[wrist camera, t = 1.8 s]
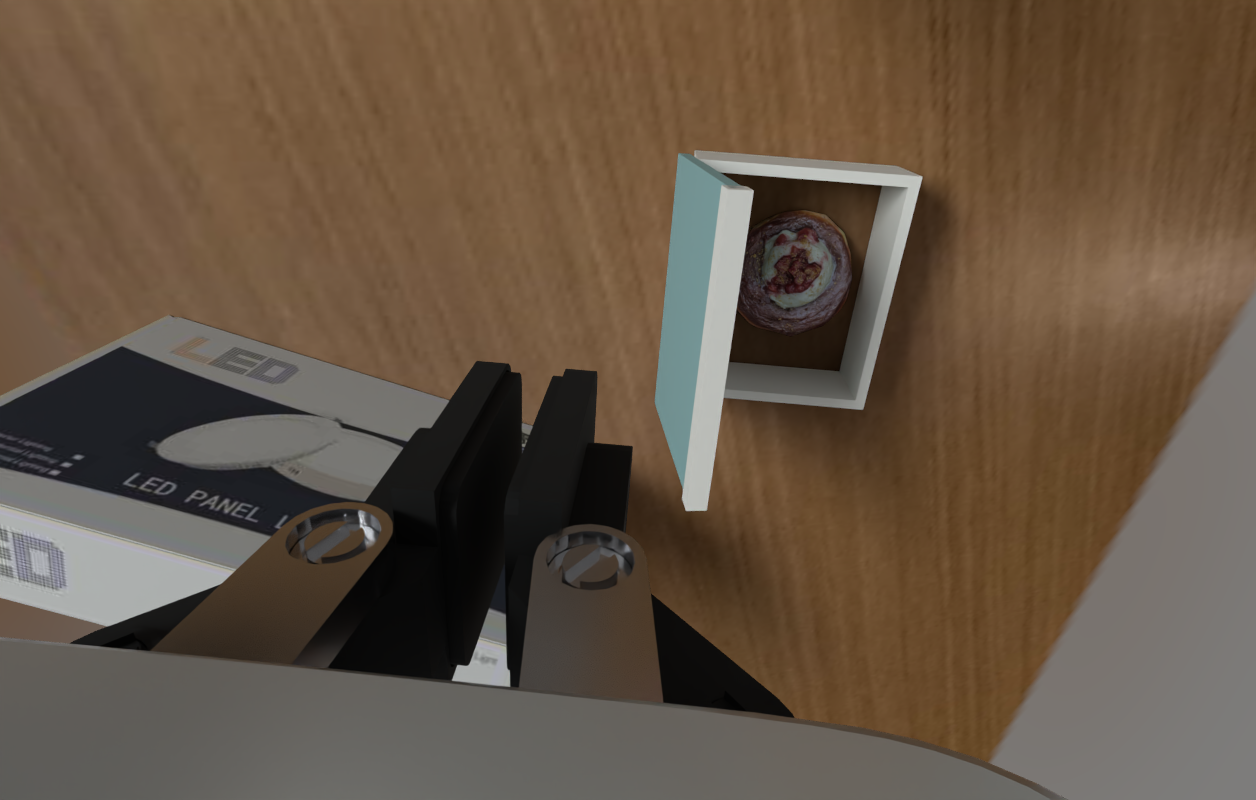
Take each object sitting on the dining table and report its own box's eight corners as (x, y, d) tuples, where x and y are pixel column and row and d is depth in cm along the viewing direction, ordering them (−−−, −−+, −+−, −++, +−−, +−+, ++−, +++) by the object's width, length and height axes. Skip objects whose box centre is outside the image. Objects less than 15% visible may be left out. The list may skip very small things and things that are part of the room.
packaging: (581, 440, 49) (529, 652, 31) (560, 504, 52) (500, 733, 34) (168, 312, 46) (-150, 463, 28) (168, 387, 49) (-122, 567, 31)
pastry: (808, 182, 40) (825, 197, 36) (874, 276, 42) (898, 301, 38) (702, 265, 43) (706, 288, 38) (770, 349, 45) (781, 380, 41)
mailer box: (694, 150, 39) (697, 158, 35) (896, 166, 39) (922, 176, 35) (671, 365, 46) (671, 393, 42) (846, 380, 45) (863, 409, 41)
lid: (693, 154, 35) (674, 153, 34) (753, 190, 25) (727, 189, 25) (667, 402, 41) (651, 402, 41) (706, 510, 31) (685, 510, 31)
